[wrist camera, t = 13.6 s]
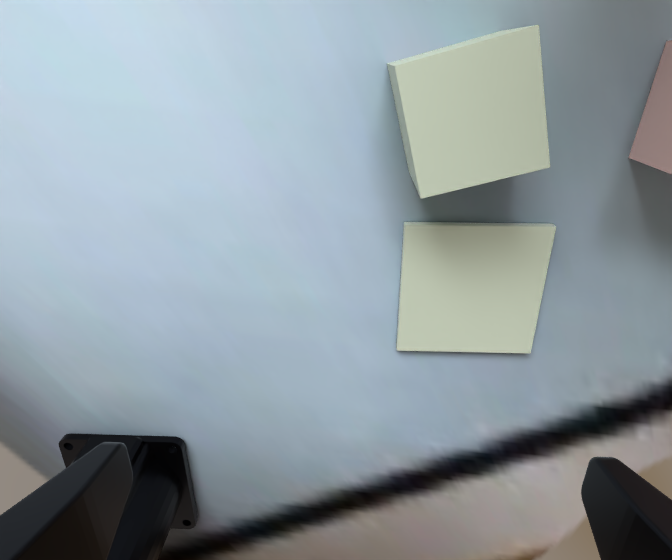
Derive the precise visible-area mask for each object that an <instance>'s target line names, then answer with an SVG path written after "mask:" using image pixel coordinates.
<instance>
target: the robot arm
mask: <svg viewBox="0 0 672 560" xmlns="http://www.w3.org/2000/svg"><path fill="white" fill-rule="evenodd" d="M172 446H174V447H172ZM175 447H176V448H175ZM59 448H60V451H61V454H62V457H63V460H64V463H65V466H66V469H64V470H63V471H61V472H60V473H59V474H57V475H56V476H55V477H53V478H52V479H50V480H49V481H48V482H46V483H45V484H43V485H42V486H41V487H39V488H38V489H36V490H35V491H34V492H33V493H31V494H30V495H28V496H27V497H25V498H24V499H22V500H21V501H20V502H18V503H17V504H16V505H14V506H13V507H12V508H10V509H9V510H7V511H6V512H4V513H3V514H2V515H0V560H158V558H159V555H160V553H161V550H162V548H163V545H164V543H165V540H166V537H167V535H168V532H169V530H170V528H178V529H191V528H193V527H194V526H195V525H196V522H197V518H198V516H197V511H196V505H195V500H194V494H193V489H192V483H191V478H190V472H189V466H188V461H187V455H186V450H185V444H184V442H183V441H182V440H181V439H180V438H178V437H168V436H133V435H99V434H66V435H65V436H64V437H63V438H62V439H61V441H60V442H59ZM581 495H582V500H583V504H584V507H585V510H586V513H587V517H588V520H589V523H590V526H591V529H592V533H593V536H594V539H595V542H596V545H597V548H598V552H599V555H600V558H601V560H672V500H671V499H670V498H668V497H667V496H666V495H664V494H663V493H662V492H660V491H659V490H658V489H656V488H655V487H654V486H652V485H651V484H650V483H649V482H647V481H646V480H645V479H643V478H642V477H641V476H639V475H638V474H637V473H635V472H634V471H633V470H631V469H630V468H629V467H627V466H626V465H625V464H623V463H622V462H621V461H619V460H618V459H616V458H612V457H593V458H592V459H591V460H590V462H589V464H588V468H587V471H586V474H585V478H584V481H583V484H582V489H581Z"/></svg>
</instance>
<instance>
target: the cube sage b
mask: <svg viewBox="0 0 672 560" xmlns="http://www.w3.org/2000/svg"><path fill="white" fill-rule="evenodd" d="M387 66H388V71H389V76H390V81H391V86H392V91H393V96H394V101H395V105H396V110H397V115H398V120H399V125H400V130H401V135H402V140H403V145H404V150H405V155H406V160H407V165H408V170H409V173H410V175H411V178H412V180H413V182H414V184H415V187H416V189H417V191H418V194H419V196H420V198H421V199H422V198H426V197H430V196H434V195H439V194H443V193H447V192H451V191H455V190H459V189H463V188H467V187H471V186H476V185H480V184H484V183H488V182H492V181H496V180H500V179H504V178H508V177H513V176H517V175H521V174H525V173H529V172H533V171H537V170H541V169H545V168H550V160H549V147H548V135H547V122H546V110H545V97H544V85H543V72H542V59H541V47H540V34H539V25H534V26H528V27H522V28H516V29H510V30H504V31H499V32H495V33H492V34H488V35H485V36H481V37H478V38H474V39H471V40H467V41H464V42H460V43H457V44H453V45H450V46H447V47H443V48H440V49H436V50H433V51H429V52H426V53H422V54H419V55H415V56H412V57H408V58H405V59H401V60H398V61H394V62H391V63H387Z"/></svg>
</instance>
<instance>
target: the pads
mask: <svg viewBox="0 0 672 560" xmlns="http://www.w3.org/2000/svg"><path fill="white" fill-rule="evenodd" d="M555 230H556V226H555V225H553V224H537V223H450V222H404V228H403V245H402V261H401V277H400V293H399V310H398V326H397V342H396V347H397V351H443V352H488V353H531V348H532V343H533V338H534V333H535V328H536V323H537V318H538V314H539V309H540V304H541V299H542V294H543V289H544V284H545V279H546V274H547V270H548V265H549V260H550V255H551V250H552V245H553V240H554V235H555Z"/></svg>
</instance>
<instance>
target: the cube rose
mask: <svg viewBox="0 0 672 560" xmlns="http://www.w3.org/2000/svg"><path fill="white" fill-rule="evenodd" d="M629 158H630V159H633V160H636V161H638V162H641V163H643V164H646V165H648V166H651V167H654V168H656V169H659V170H661V171H664V172H666V173H669V174H672V40H671V41H666V44H665V47H664V50H663V53H662V56H661V59H660V62H659V65H658V68H657V72H656V75H655V78H654V81H653V84H652V87H651V90H650V93H649V96H648V99H647V102H646V105H645V108H644V111H643V115H642V118H641V121H640V124H639V127H638V130H637V133H636V136H635V139H634V142H633V145H632V148H631V151H630V154H629Z"/></svg>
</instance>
